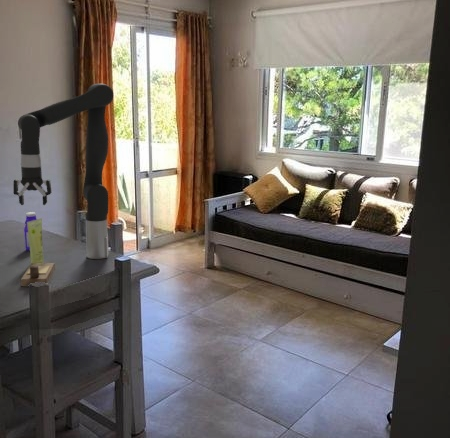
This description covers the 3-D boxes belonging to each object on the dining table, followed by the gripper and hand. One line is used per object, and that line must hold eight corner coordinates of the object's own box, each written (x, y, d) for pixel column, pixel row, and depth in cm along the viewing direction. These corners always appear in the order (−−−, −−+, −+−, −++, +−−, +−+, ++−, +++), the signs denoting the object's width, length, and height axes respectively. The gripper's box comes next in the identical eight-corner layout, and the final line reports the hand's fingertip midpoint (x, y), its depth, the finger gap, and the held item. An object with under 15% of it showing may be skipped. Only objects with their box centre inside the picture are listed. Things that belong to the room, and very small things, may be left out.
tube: (42, 266, 202) (40, 221, 197) (29, 267, 201) (26, 221, 196) (44, 262, 207) (41, 218, 203) (31, 262, 206) (29, 218, 202)
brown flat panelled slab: (55, 269, 199) (54, 253, 197) (46, 286, 182) (45, 268, 180) (32, 270, 197) (30, 254, 196) (21, 286, 180) (20, 269, 179)
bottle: (34, 252, 220) (32, 215, 216) (23, 250, 221) (20, 214, 217) (43, 247, 227) (41, 211, 223) (32, 246, 228) (30, 210, 224)
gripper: (51, 164, 199) (53, 203, 203) (14, 163, 197) (17, 202, 201) (47, 166, 192) (49, 206, 196) (9, 166, 189) (12, 206, 193)
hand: (33, 204), depth 198 cm, fingers open, 8 cm apart
